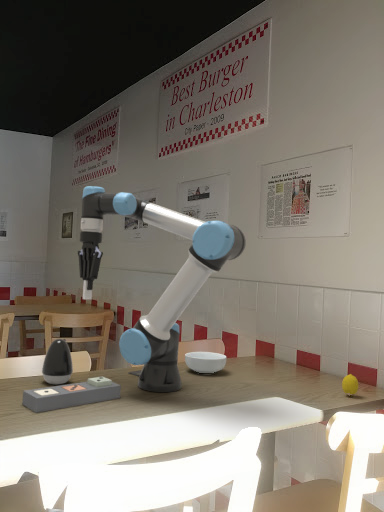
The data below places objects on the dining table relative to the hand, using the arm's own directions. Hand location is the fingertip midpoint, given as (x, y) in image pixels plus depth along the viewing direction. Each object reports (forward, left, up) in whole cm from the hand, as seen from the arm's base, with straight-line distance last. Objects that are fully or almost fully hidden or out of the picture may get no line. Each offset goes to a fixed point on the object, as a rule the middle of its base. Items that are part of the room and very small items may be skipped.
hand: (87, 299), depth 167 cm
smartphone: (-13, -28, -30) cm, 43 cm away
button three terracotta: (-8, +19, -28) cm, 35 cm away
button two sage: (-12, +11, -27) cm, 31 cm away
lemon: (-89, -32, -30) cm, 99 cm away
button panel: (-8, +19, -29) cm, 36 cm away
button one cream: (-3, +27, -28) cm, 39 cm away
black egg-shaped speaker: (+8, +3, -30) cm, 31 cm away
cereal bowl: (-33, -41, -30) cm, 61 cm away
